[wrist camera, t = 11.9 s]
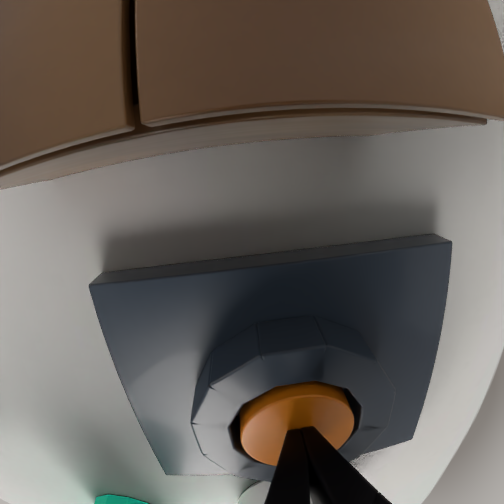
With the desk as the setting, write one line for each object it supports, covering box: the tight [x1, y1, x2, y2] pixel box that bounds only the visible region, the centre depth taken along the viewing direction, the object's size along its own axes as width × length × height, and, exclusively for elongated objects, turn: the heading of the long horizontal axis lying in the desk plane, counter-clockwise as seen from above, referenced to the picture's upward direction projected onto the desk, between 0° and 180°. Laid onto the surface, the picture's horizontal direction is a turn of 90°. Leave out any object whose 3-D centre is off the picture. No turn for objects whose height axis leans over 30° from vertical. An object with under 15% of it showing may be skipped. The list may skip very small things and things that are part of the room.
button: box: [240, 381, 354, 466], centre depth 9 cm, size 4×4×2 cm
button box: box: [89, 234, 452, 482], centre depth 10 cm, size 12×10×3 cm
